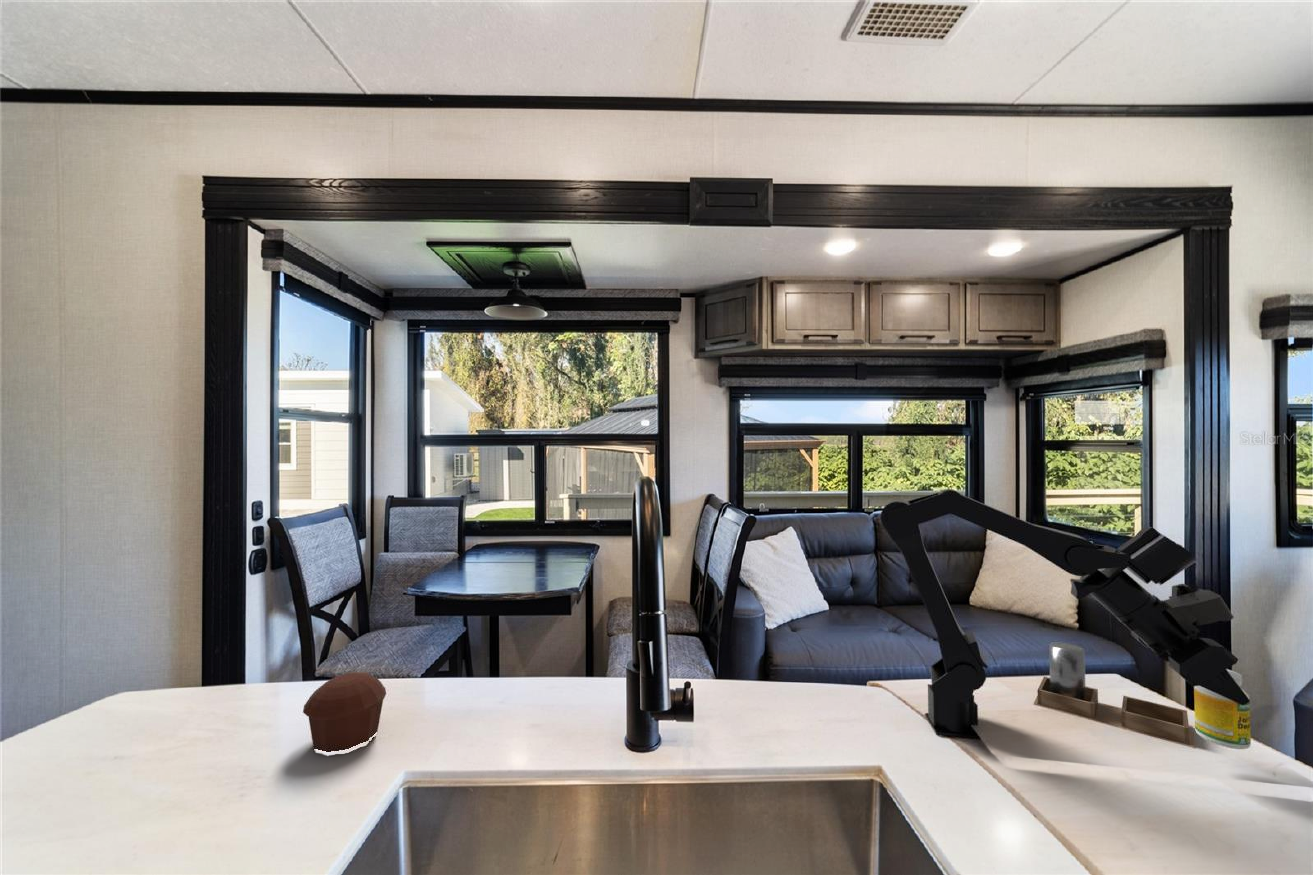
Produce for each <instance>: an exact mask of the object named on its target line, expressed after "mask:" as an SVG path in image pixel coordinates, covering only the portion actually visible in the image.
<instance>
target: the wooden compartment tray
mask: <svg viewBox="0 0 1313 875" xmlns="http://www.w3.org/2000/svg"><path fill="white" fill-rule="evenodd" d="M1085 687H1086V701H1083V700H1080V699H1076V698H1072V697H1068V696H1064V695H1060V694H1056V693H1052V692H1050V677H1047V676H1043V678H1042V679H1041V682H1040V684H1039V686H1038V688H1037V689H1036V690H1037V695H1036V698H1035V700H1034V702H1033V703H1032V705H1035V706H1038V707H1042V708H1046V709H1048V710H1053V711H1057V712H1060V713H1064V714H1068V715H1070V716H1074V717H1078V718H1081V719H1085V720H1090V721H1093V722H1097V723H1100V724H1103V725H1104V724H1105V725H1108V726H1112V727H1115V728H1119V729H1122V730H1127V731H1129V732H1134V733H1137V734H1141V735H1145V736H1148V737H1151V738H1155V739H1159V740H1163V741H1167V742H1171V743H1175V744H1178V745H1182V746H1185V747H1189V748H1192V749H1196V744H1195V736H1194V730H1193V725H1190V724H1189V717H1188V715H1189V714H1188V710H1187V709H1186V710H1185V709H1183V708H1178V707H1173V706H1169V705H1164V704H1161V703H1157V702H1153V701H1148V700H1144V699H1140V698H1135V697H1131V696H1127V695H1123V696H1122V704H1121V707H1119V706H1114V705H1111V704H1107V703H1102V702H1099V691H1098V689H1097V688H1094V687H1090V686H1086V685H1085Z"/></svg>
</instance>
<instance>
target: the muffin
mask: <svg viewBox="0 0 1313 875" xmlns="http://www.w3.org/2000/svg"><path fill="white" fill-rule="evenodd" d="M386 690H387V689H386V687H385V686H384V685H383V683H382V681H381V680H379V678H377V677H375V676H373V675H371V674H369V673H364V672H357V671H355V672H347V673H343V674H339V675H337V676H335V677H333V678H331V679H329V680H327V681H326V682H324V683H323V684H321V686H320V687H319V686H318V688H317V689H316V690H314V691H313V693H312V694H311V695H310V696H309V698H307V700H306V702H305V704H304V705H303V710H302V713H303V714H304V715H306V717H308V724H309V728H310V735H311V741H312V742H311V743H312V748H313V750H314V749H318V750H322V751H326V752H331V751H339V750H345V749H349V748H351V747H353V746H356V745H358V744H360V743H363V742H366V741H368V740H369V738H370V737H372V736H373V735H374V734H375V733H376V732H377V733H378V730H379V726H380V725H379V724H380V720H381V713H382V709H383V704H384V700H385V698H386V695H387V692H386Z"/></svg>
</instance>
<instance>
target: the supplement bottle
mask: <svg viewBox="0 0 1313 875" xmlns="http://www.w3.org/2000/svg"><path fill="white" fill-rule="evenodd" d="M1227 671H1228V672H1229V674H1230V675H1231V676H1232V678H1233V679H1234V680H1235V682H1236V683H1237V684H1238V686H1239V687H1240V688H1241V687H1242V685H1243V676H1242V674H1240V673H1238V672H1236V671H1233V670H1231V669H1229V668H1228V669H1227ZM1241 689H1242V691H1243V692H1244V693H1245V695H1246V696H1247V697H1248V699H1249V700H1250V695H1249V693H1247V691H1245V690H1244V689H1243V688H1241ZM1193 695H1194V696H1193V697H1194V729H1195V732H1196V734H1197V735H1199V737H1200V738H1202V739H1204V740H1205V741H1207V742H1210V743H1211V744H1215V745H1218V746H1221V747H1225V748H1229V749H1234V750H1246V749H1249V748H1250V746H1251V745H1252V744H1251V742H1252V740H1251V739H1252V738H1251V704H1250V703H1251V700H1250V702H1249V703H1247V704H1245V705H1241V704H1238V703H1236V702H1234V701H1232V700H1230V699H1228V698H1225V697H1223V696H1221V695H1219V694H1217V693H1215V692H1212V691H1210V690H1208V689H1206V688H1203V687H1201V686H1193Z"/></svg>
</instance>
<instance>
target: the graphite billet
mask: <svg viewBox="0 0 1313 875" xmlns="http://www.w3.org/2000/svg"><path fill="white" fill-rule="evenodd" d="M1048 646H1049V648H1048V649H1049V650H1048V651H1049V652H1048V654H1049V678H1050V692H1052V693H1056V694H1060V695H1064V696H1068V697H1072V698H1076V699H1080V700H1083V701H1086V687H1087V686H1086V658H1085V657H1086V656H1085V654H1086V652H1085V649H1084V648H1083V647H1081V646H1078V645H1076V644H1072V643H1067V642H1060V641H1059V642H1058V641H1057V642H1056V641H1054V642H1050V643H1049V644H1048ZM1085 686H1086V687H1085Z"/></svg>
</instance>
